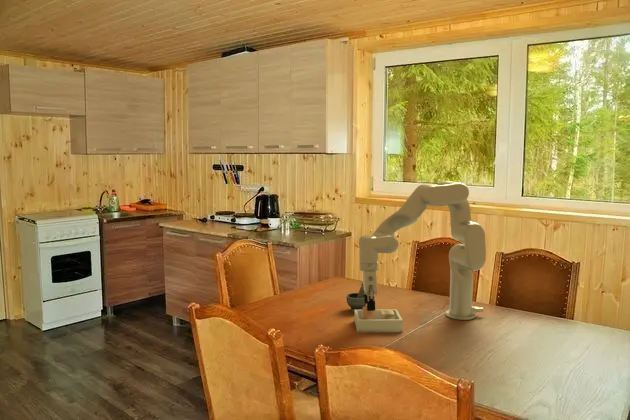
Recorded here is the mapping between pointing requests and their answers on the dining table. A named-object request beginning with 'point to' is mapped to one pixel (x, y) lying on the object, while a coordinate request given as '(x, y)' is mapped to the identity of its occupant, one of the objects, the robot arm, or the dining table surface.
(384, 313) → the cube
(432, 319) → the dining table surface
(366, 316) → the cylinder
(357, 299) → the mortar and pestle
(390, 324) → the tote
